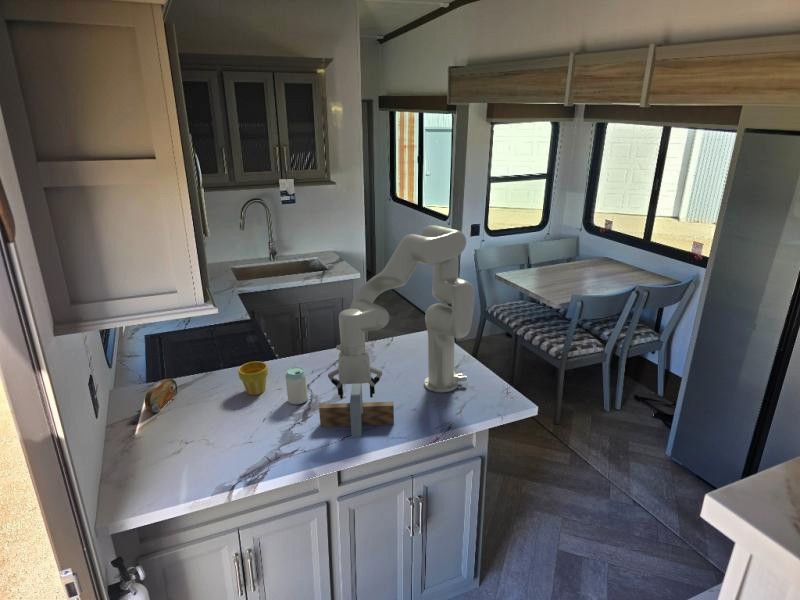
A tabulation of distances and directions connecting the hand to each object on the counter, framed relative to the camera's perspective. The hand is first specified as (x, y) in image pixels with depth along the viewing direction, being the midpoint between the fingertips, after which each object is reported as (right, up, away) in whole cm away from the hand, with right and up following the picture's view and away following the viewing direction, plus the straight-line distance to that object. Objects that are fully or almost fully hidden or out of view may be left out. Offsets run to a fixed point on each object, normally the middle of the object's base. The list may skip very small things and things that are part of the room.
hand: (356, 396), depth 169 cm
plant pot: (-40, -3, +25) cm, 47 cm away
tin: (-70, -7, +17) cm, 73 cm away
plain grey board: (0, -10, +3) cm, 10 cm away
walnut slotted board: (0, -10, +3) cm, 10 cm away
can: (-22, -5, +18) cm, 29 cm away
